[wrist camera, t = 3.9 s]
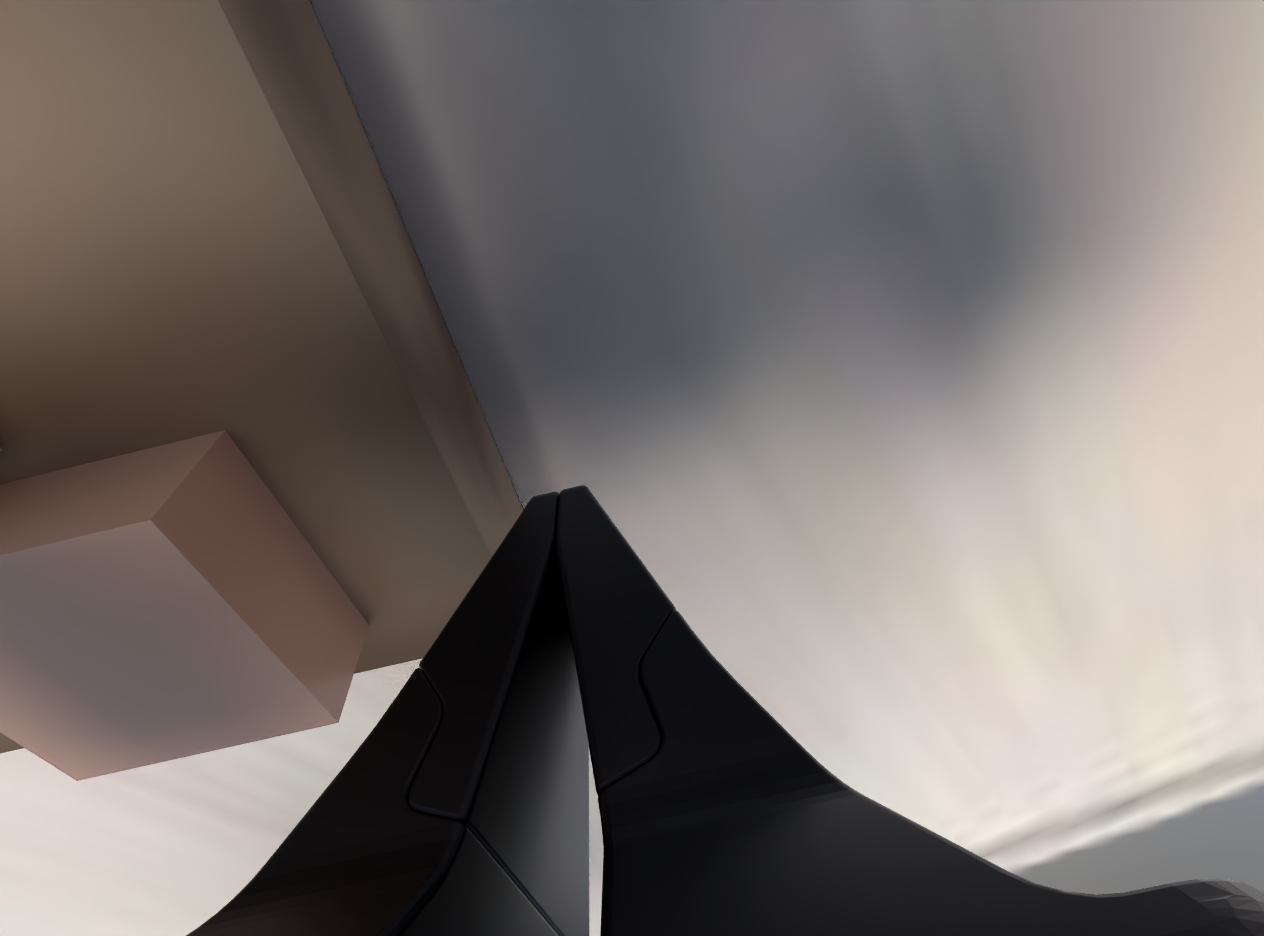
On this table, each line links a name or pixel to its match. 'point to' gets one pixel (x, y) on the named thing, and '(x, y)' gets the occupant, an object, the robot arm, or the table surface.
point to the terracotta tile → (163, 612)
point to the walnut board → (235, 292)
